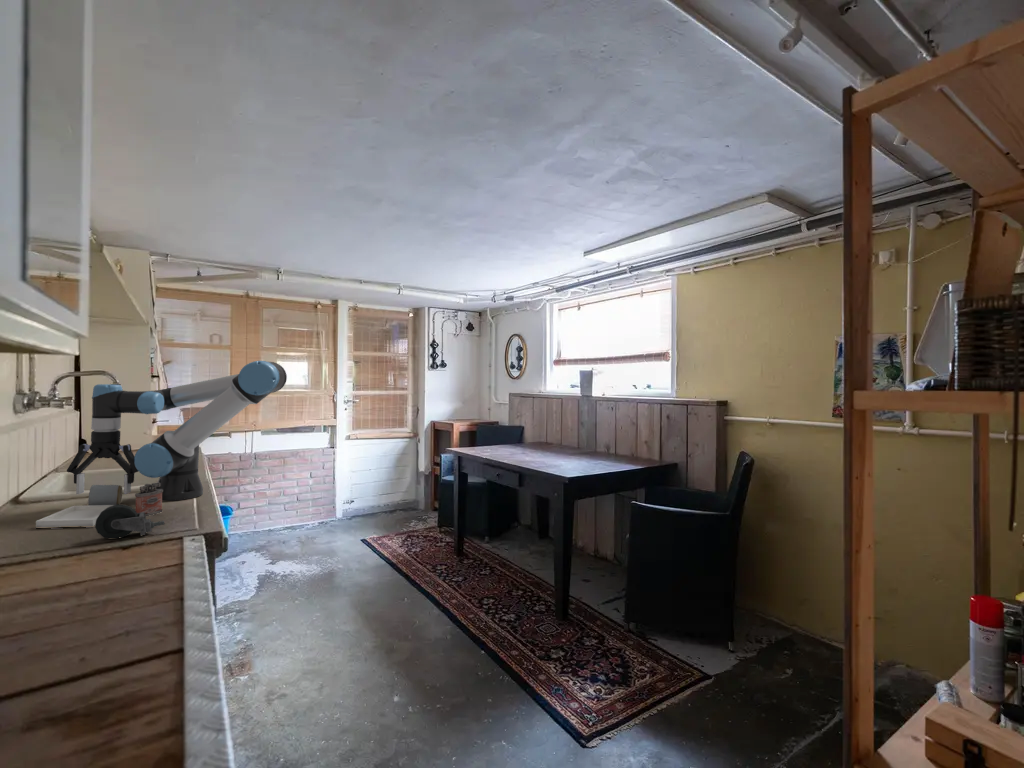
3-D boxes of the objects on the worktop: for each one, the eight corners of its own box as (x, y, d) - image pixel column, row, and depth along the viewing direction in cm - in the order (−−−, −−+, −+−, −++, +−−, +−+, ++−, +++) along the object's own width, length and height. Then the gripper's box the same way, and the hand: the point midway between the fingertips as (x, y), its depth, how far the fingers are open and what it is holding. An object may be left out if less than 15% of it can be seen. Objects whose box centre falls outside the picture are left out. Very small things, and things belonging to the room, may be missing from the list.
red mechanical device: (139, 518, 150) (140, 487, 150) (131, 517, 151) (132, 485, 151) (165, 512, 158) (165, 481, 158) (157, 510, 159) (158, 480, 159)
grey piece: (119, 508, 160) (120, 485, 160) (87, 511, 156) (88, 487, 156) (123, 501, 169) (124, 479, 169) (93, 503, 165) (93, 481, 165)
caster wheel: (96, 546, 129) (164, 532, 137) (92, 511, 128) (161, 499, 137) (99, 540, 134) (165, 527, 142) (95, 506, 133) (162, 495, 141)
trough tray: (123, 511, 157) (123, 504, 156) (92, 527, 141) (93, 519, 141) (72, 512, 153) (73, 505, 153) (35, 528, 138) (36, 521, 138)
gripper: (154, 429, 167) (151, 490, 168) (69, 428, 162) (67, 490, 162) (142, 432, 160) (140, 495, 160) (54, 430, 154) (51, 496, 155)
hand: (103, 493), depth 161 cm, fingers open, 13 cm apart
